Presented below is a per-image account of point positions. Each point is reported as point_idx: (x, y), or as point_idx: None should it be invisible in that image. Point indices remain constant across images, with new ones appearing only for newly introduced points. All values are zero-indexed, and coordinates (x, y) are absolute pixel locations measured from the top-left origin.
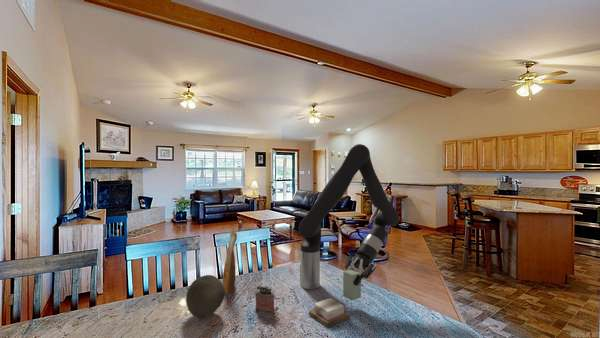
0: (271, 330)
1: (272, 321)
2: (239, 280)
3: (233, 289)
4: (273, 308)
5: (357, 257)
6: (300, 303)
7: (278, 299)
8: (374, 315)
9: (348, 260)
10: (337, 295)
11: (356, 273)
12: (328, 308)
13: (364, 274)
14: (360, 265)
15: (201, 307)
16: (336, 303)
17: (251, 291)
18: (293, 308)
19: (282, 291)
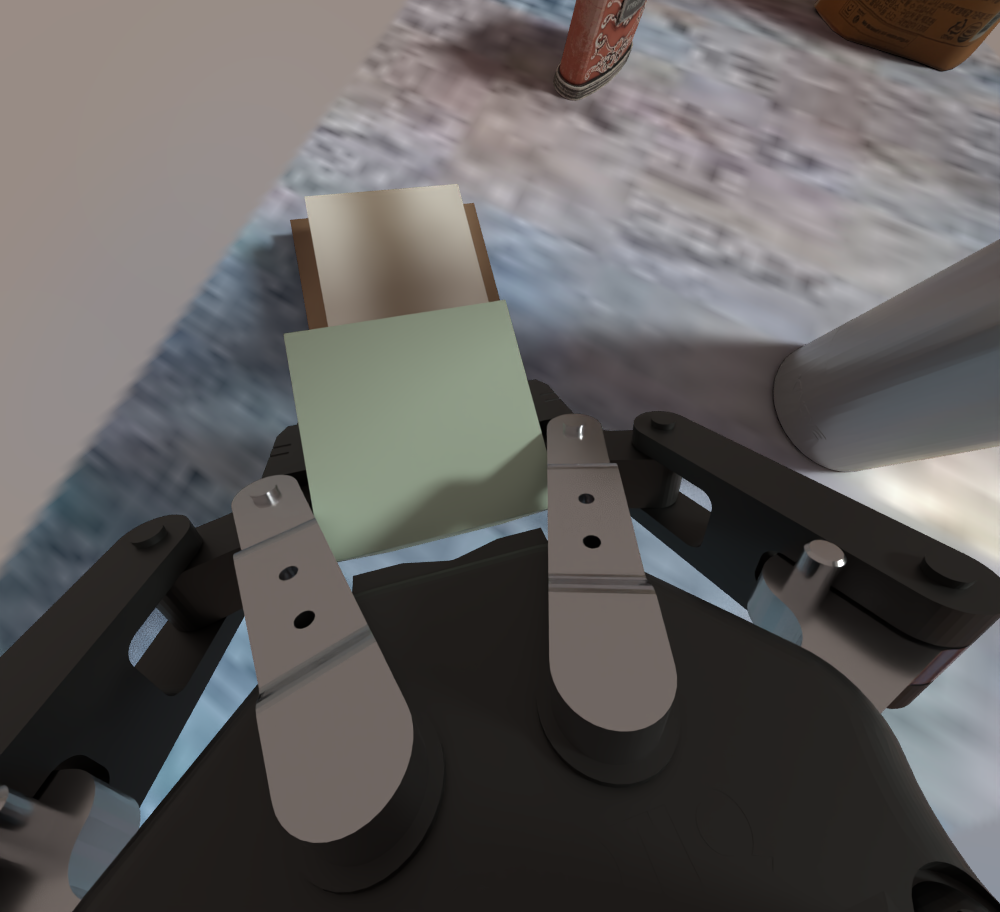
0: (410, 25)
1: (485, 58)
2: (964, 101)
3: (854, 35)
4: (567, 63)
5: (650, 714)
6: (614, 243)
7: (697, 169)
8: None
9: (792, 505)
10: None
11: (330, 456)
12: (345, 223)
13: (130, 537)
14: (306, 585)
15: None
16: (388, 310)
17: (822, 100)
18: (572, 188)
19: (788, 226)
